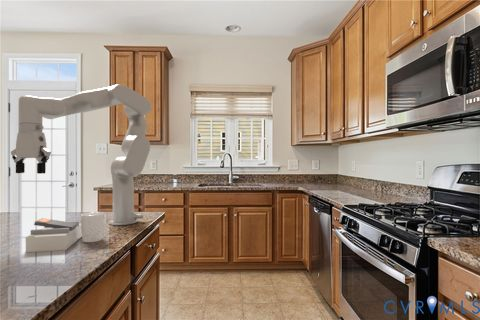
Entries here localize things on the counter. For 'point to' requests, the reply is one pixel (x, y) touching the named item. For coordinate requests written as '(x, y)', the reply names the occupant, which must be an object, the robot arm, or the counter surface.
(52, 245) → the breaker panel
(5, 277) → the counter surface
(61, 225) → the breaker rocker
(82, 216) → the white cup
